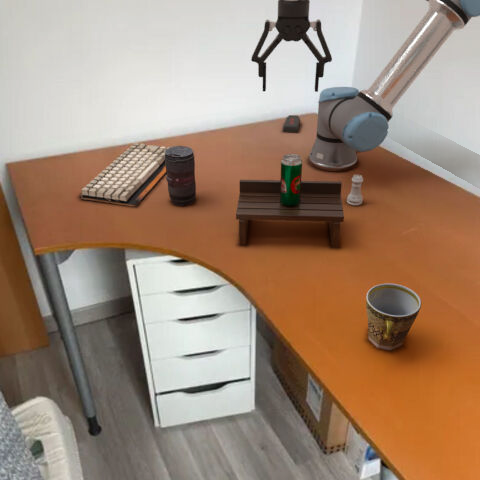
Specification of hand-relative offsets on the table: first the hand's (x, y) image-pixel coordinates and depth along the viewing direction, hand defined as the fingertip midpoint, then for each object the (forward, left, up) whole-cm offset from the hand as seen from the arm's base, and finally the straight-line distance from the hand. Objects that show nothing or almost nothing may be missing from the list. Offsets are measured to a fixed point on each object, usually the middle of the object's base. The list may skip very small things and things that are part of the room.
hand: (290, 90), depth 138 cm
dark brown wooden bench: (+17, +17, -29) cm, 37 cm away
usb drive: (-39, -34, -29) cm, 59 cm away
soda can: (+17, +17, -20) cm, 32 cm away
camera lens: (+26, -16, -29) cm, 42 cm away
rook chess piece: (-8, +19, -29) cm, 36 cm away
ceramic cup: (+34, +59, -29) cm, 74 cm away
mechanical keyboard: (+27, -40, -29) cm, 56 cm away
